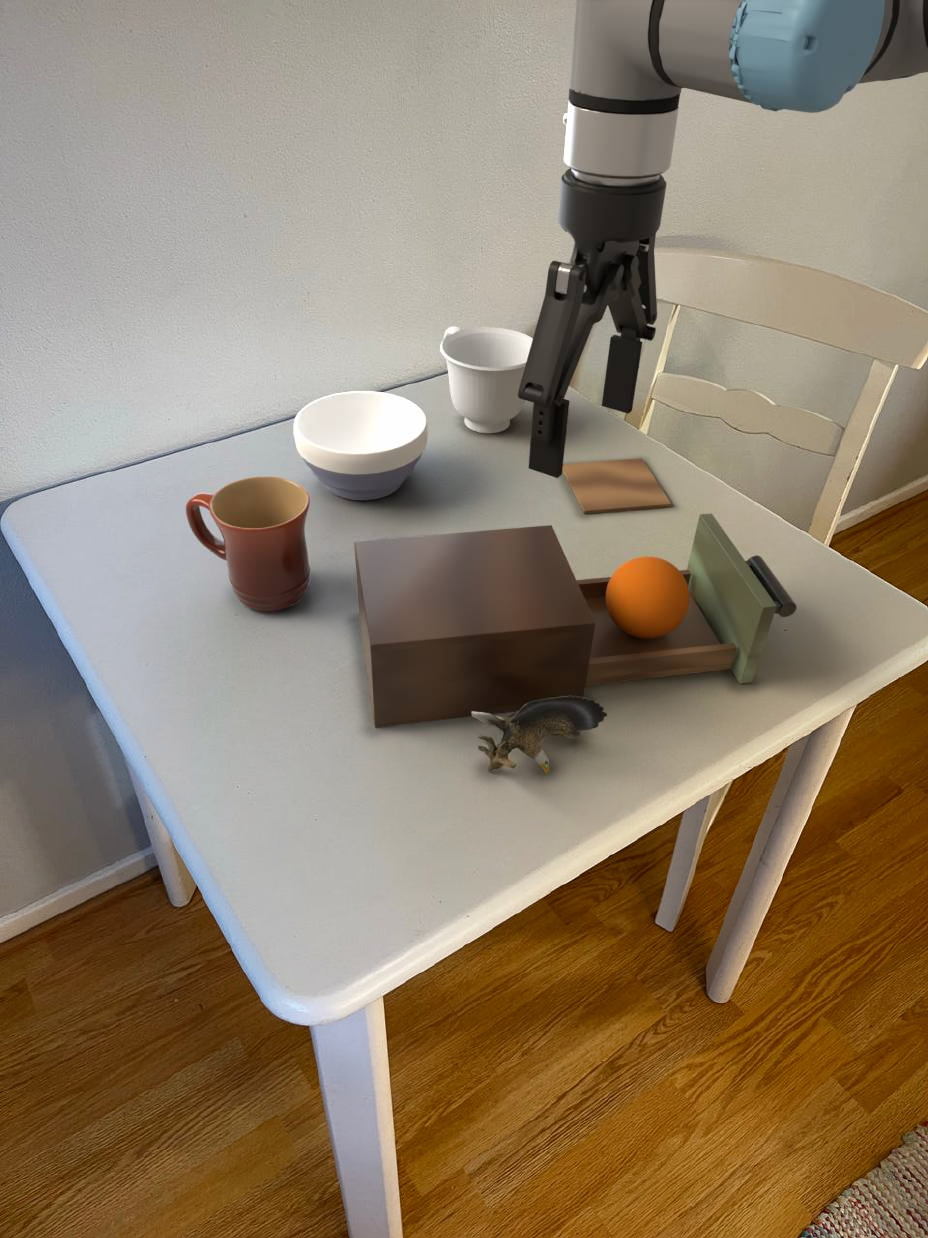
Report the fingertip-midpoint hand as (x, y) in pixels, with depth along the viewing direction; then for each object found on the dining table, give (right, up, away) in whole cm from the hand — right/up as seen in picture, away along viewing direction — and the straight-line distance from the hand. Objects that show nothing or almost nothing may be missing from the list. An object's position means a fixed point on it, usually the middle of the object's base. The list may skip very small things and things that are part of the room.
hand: (582, 438), depth 78 cm
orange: (+6, -16, +3) cm, 18 cm away
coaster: (+7, 0, +25) cm, 25 cm away
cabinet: (-10, -19, +2) cm, 22 cm away
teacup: (-8, +10, +36) cm, 39 cm away
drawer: (+7, -17, +4) cm, 19 cm away
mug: (-30, -13, +9) cm, 34 cm away
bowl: (-22, 0, +24) cm, 32 cm away
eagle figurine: (-5, -26, -6) cm, 28 cm away
